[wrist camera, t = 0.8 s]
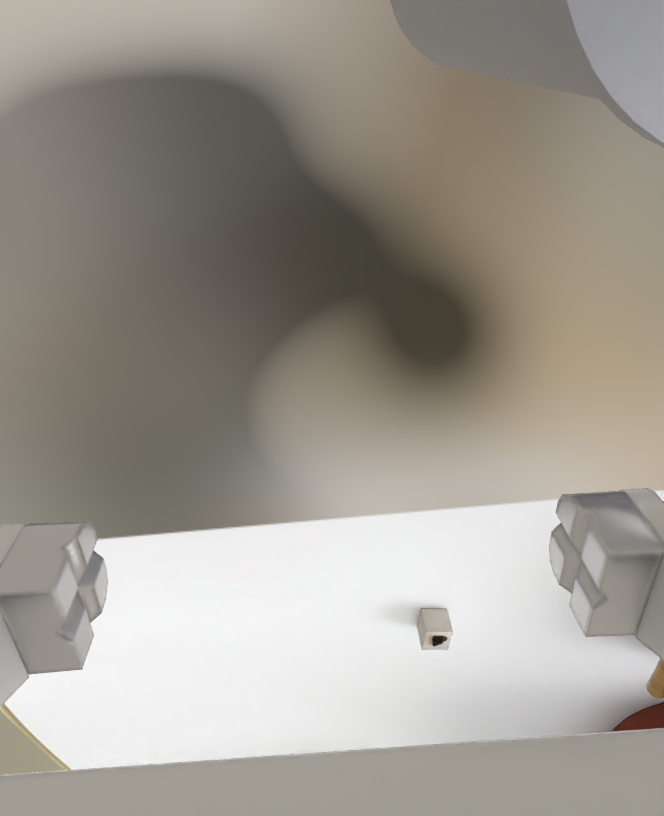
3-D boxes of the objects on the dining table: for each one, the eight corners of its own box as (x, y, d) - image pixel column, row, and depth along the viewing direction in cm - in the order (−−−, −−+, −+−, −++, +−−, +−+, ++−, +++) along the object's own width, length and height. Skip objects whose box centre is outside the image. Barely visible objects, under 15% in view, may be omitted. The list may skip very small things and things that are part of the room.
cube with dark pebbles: (420, 608, 49) (426, 634, 47) (446, 608, 49) (454, 634, 47) (416, 626, 50) (422, 652, 48) (442, 626, 50) (448, 652, 48)
